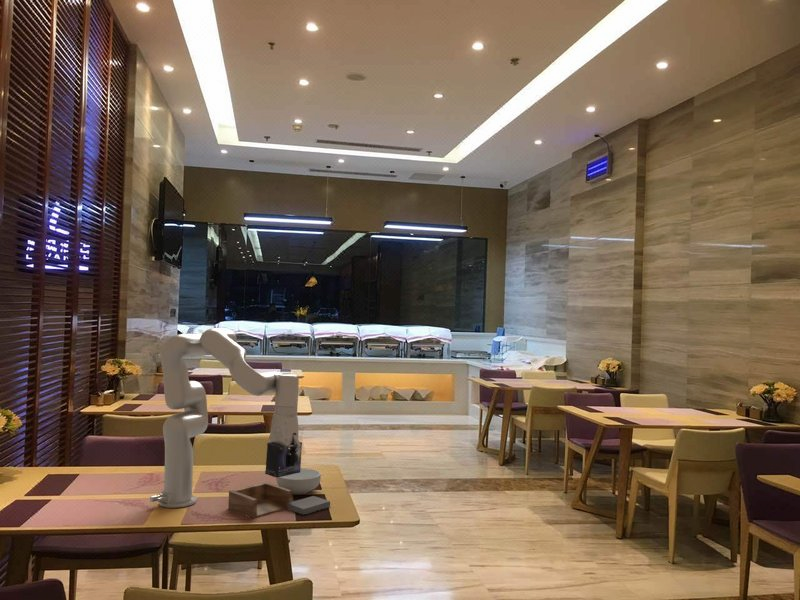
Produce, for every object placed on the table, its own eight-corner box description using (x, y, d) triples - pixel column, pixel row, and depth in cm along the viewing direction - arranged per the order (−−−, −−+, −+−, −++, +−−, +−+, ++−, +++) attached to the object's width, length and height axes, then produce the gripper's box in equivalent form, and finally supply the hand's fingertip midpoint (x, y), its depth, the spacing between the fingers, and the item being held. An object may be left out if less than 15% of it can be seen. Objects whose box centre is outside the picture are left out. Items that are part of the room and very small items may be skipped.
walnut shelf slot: (252, 518, 201) (253, 500, 201) (228, 508, 210) (228, 491, 210) (291, 507, 213) (291, 490, 213) (266, 498, 222) (267, 482, 222)
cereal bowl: (300, 501, 220) (301, 481, 221) (266, 493, 229) (267, 474, 229) (329, 490, 235) (329, 471, 235) (296, 483, 244) (296, 465, 244)
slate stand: (303, 514, 205) (303, 508, 205) (286, 508, 211) (287, 503, 211) (330, 507, 214) (330, 501, 214) (313, 501, 220) (313, 495, 220)
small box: (277, 478, 197) (278, 446, 197) (264, 474, 201) (265, 442, 201) (301, 472, 205) (303, 441, 205) (288, 468, 209) (290, 438, 210)
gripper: (261, 408, 206) (258, 460, 206) (293, 415, 195) (290, 471, 195) (279, 406, 212) (276, 457, 212) (311, 413, 201) (308, 467, 200)
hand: (283, 463), depth 203 cm, fingers closed on small box, 6 cm apart
